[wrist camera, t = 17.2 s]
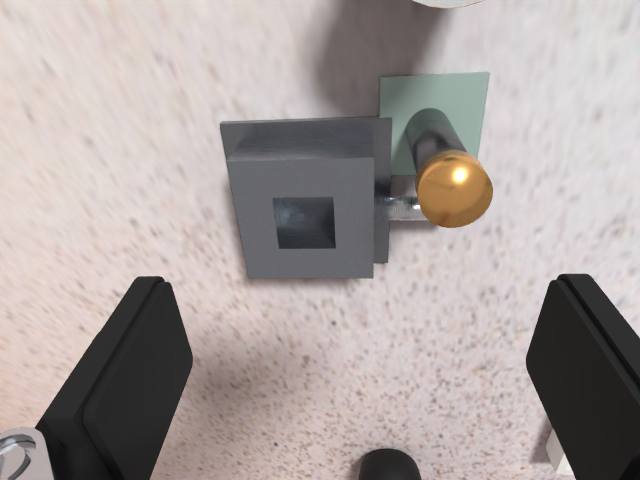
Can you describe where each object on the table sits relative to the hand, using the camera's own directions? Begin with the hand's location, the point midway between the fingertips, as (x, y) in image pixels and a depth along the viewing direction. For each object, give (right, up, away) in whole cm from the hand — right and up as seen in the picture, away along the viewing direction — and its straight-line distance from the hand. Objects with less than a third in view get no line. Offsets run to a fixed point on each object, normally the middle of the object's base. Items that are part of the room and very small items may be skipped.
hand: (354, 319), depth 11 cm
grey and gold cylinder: (+8, +11, +23) cm, 27 cm away
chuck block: (+1, +6, +27) cm, 28 cm away
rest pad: (+8, +11, +23) cm, 27 cm away
